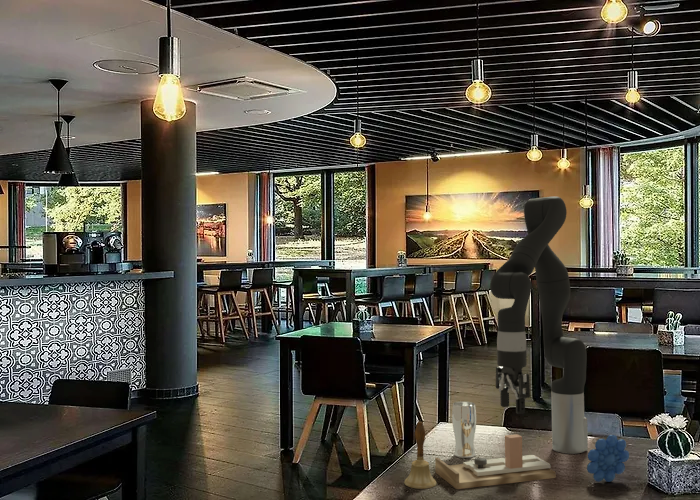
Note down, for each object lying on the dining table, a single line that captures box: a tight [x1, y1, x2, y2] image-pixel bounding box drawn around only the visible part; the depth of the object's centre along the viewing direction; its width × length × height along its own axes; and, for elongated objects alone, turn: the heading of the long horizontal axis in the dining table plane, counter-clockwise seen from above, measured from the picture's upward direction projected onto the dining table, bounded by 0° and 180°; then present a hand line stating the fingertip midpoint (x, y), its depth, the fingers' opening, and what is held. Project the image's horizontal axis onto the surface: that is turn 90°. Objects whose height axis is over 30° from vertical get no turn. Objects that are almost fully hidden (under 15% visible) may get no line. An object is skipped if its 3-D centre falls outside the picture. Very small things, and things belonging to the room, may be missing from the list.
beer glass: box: [451, 400, 477, 459], centre depth 205 cm, size 7×7×15 cm
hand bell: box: [403, 420, 437, 490], centre depth 181 cm, size 8×8×16 cm
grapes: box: [586, 434, 630, 483], centre depth 181 cm, size 12×7×12 cm, turn 101°
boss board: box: [434, 457, 557, 490], centre depth 187 cm, size 28×14×4 cm, turn 105°
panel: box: [462, 433, 552, 476], centre depth 188 cm, size 21×9×9 cm, turn 105°
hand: (512, 409), depth 185 cm, fingers open, 8 cm apart
